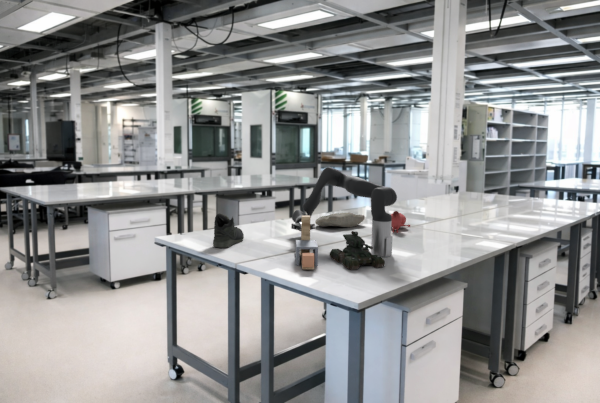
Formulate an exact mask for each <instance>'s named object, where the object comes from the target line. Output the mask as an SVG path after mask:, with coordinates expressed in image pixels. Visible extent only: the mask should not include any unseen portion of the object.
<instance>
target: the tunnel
mask: <svg viewBox="0 0 600 403" xmlns="http://www.w3.org/2000/svg"><path fill="white" fill-rule="evenodd" d="M301 249H310V250H312V253H314V267H317V266H318V264H319V246H318V242H317V240H315V239H313V240H312V239H310V240H301V239H295V253H296V258H295V263H296V264H295V265H296V266H297V265H298V266H300V258H299V253H300V252H301ZM298 266H297V267H298Z"/></svg>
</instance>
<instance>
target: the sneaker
mask: <svg viewBox="0 0 600 403" xmlns="http://www.w3.org/2000/svg"><path fill="white" fill-rule="evenodd" d="M213 223H214V226H213V229H214V230H213V240H212V246H213V248H217V249H218V248H220V249H222V248H223V249H227V248H230V247H232V246H233V245H235V243H236V244H238V243H241V242H243V240H244V236H245V235H244V231H243V230H242V229H241V228H240V227H238V226H235V221H234V216H232V217H231V218H229V217H228V216H227V215H225V214H223V213H217V214H216V215H215V218H214V222H213ZM229 246H230V247H229Z"/></svg>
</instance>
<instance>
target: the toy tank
mask: <svg viewBox="0 0 600 403" xmlns="http://www.w3.org/2000/svg"><path fill="white" fill-rule="evenodd" d="M342 237H343V238H344V240H345V244H346V245H345V247H344V248H343V249H342V250H341V249H339V248H331V251H329V257H330V258H331V259H332V260H333V261H335V262H337V263H340V264H342V266H344V268H346V269H348V270H350V271H355V270H356V271H357V270H358V269H359V268H360V266H369V265H370V266H371V267H372V268H376V269H381V268H384V266H385V265H386V262H385V260H384V257H380V256H378V255H372V254H371V250H372V249H373V247H372V246H371V245H369V244H366V241H365V240H364V239H363V238H362V237H361V236H359V232H358V231H353V230H351V233H350V234H349V233H348V234H347V233H345V234H342Z"/></svg>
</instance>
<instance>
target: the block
mask: <svg viewBox="0 0 600 403" xmlns="http://www.w3.org/2000/svg"><path fill="white" fill-rule="evenodd" d="M302 267H314V268H315V264H314V253H313V252H310V253H302V264H301V268H302Z"/></svg>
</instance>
